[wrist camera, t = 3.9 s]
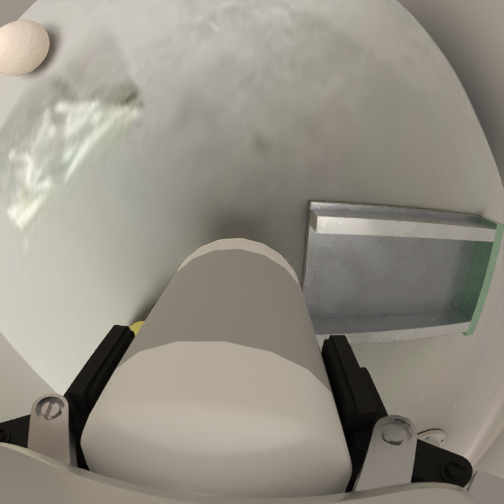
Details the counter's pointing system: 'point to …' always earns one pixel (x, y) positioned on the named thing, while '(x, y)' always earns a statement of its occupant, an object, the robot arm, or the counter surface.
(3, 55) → the egg
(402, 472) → the robot arm
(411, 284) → the rail cradle
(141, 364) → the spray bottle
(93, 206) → the counter surface
